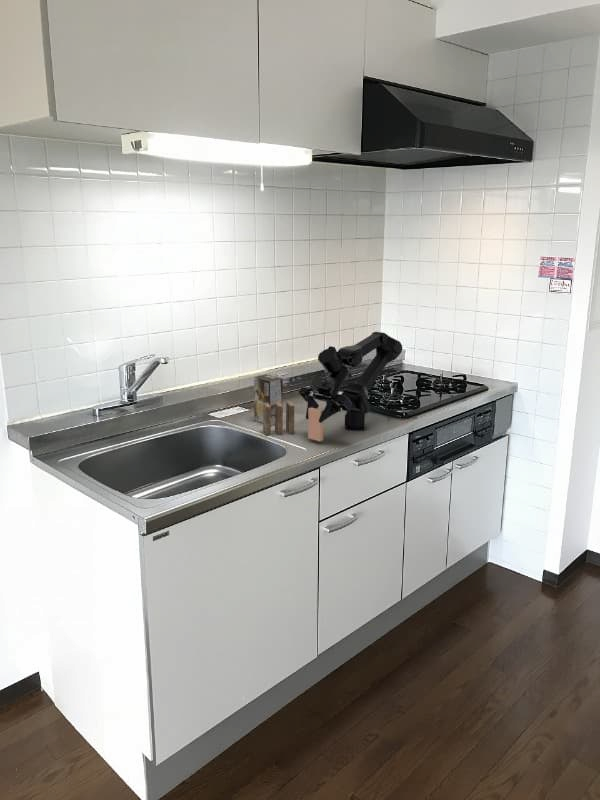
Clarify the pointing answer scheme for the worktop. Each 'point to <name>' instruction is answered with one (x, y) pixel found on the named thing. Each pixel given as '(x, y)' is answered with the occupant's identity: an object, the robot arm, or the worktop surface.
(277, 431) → the walnut tile
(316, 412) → the tile
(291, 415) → the walnut tile
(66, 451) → the worktop surface
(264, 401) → the coffee box
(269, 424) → the walnut tile
